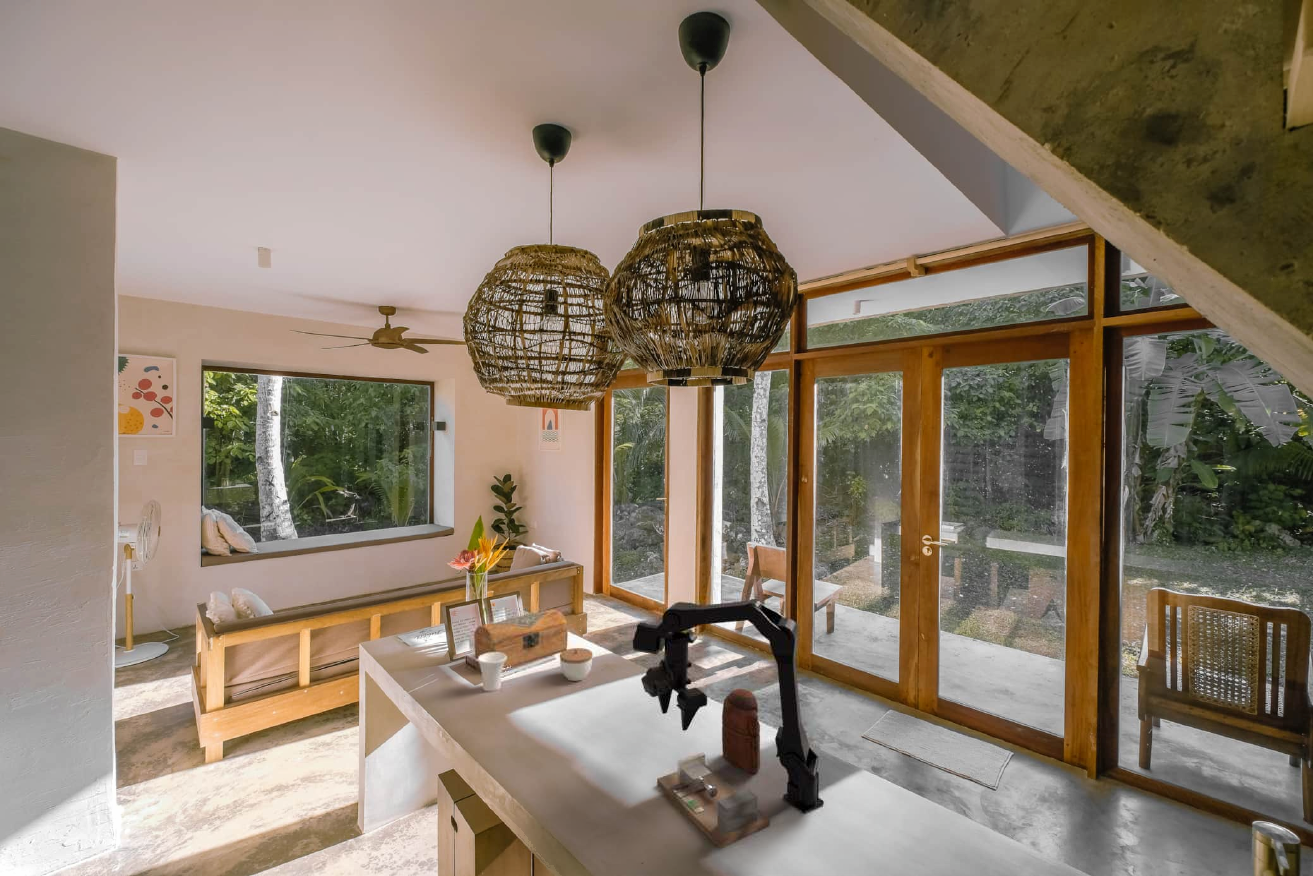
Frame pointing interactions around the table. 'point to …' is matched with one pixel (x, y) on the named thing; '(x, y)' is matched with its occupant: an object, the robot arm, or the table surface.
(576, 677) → the lidded jar
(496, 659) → the cup
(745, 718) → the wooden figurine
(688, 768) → the gauge carriage
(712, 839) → the gauge base
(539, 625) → the wooden box
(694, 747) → the table surface
